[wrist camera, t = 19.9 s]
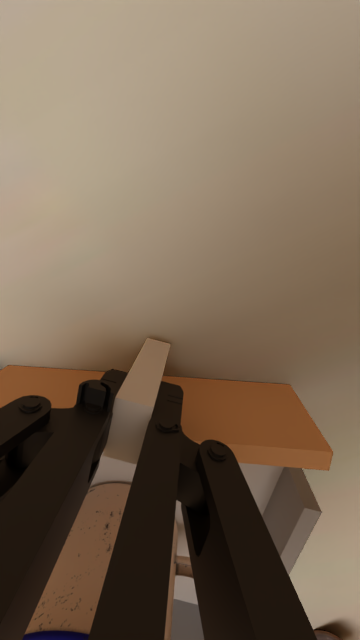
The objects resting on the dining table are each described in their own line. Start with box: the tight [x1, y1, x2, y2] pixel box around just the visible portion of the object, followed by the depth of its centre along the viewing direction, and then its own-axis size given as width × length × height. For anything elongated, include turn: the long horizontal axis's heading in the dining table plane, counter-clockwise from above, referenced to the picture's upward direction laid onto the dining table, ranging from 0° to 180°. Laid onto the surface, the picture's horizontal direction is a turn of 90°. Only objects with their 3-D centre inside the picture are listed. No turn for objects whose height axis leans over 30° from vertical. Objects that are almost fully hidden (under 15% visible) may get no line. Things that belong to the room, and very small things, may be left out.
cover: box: [0, 365, 333, 470], centre depth 16 cm, size 19×1×6 cm, turn 88°
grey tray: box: [89, 451, 322, 640], centre depth 19 cm, size 23×19×6 cm
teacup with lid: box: [22, 483, 193, 640], centre depth 16 cm, size 12×9×12 cm
